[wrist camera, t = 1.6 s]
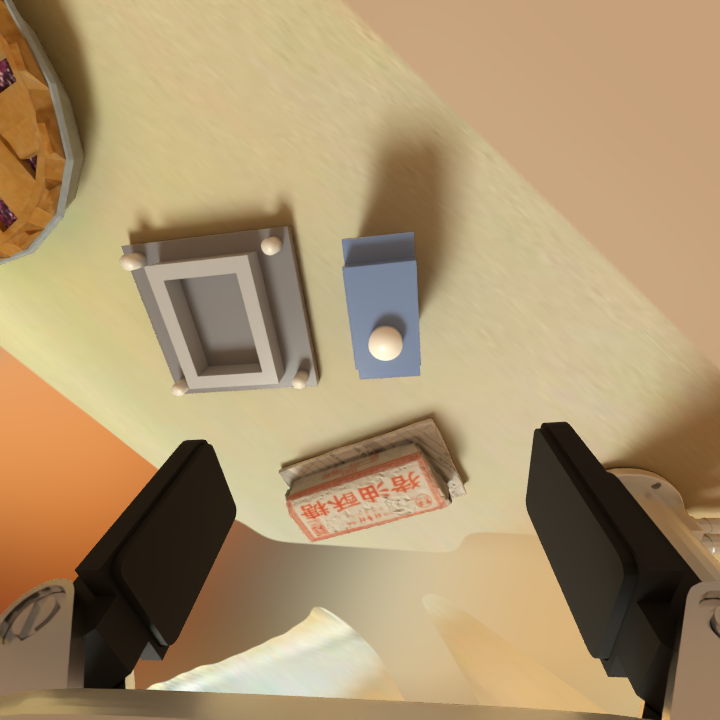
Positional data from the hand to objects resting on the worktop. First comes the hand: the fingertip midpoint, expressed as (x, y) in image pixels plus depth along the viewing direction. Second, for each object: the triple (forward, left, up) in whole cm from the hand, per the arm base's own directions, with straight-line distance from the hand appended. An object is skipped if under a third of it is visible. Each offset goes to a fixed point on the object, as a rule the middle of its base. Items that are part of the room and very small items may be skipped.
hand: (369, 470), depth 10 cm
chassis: (+14, +1, -21) cm, 25 cm away
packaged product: (+3, +20, -21) cm, 30 cm away
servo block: (0, 0, -21) cm, 21 cm away
